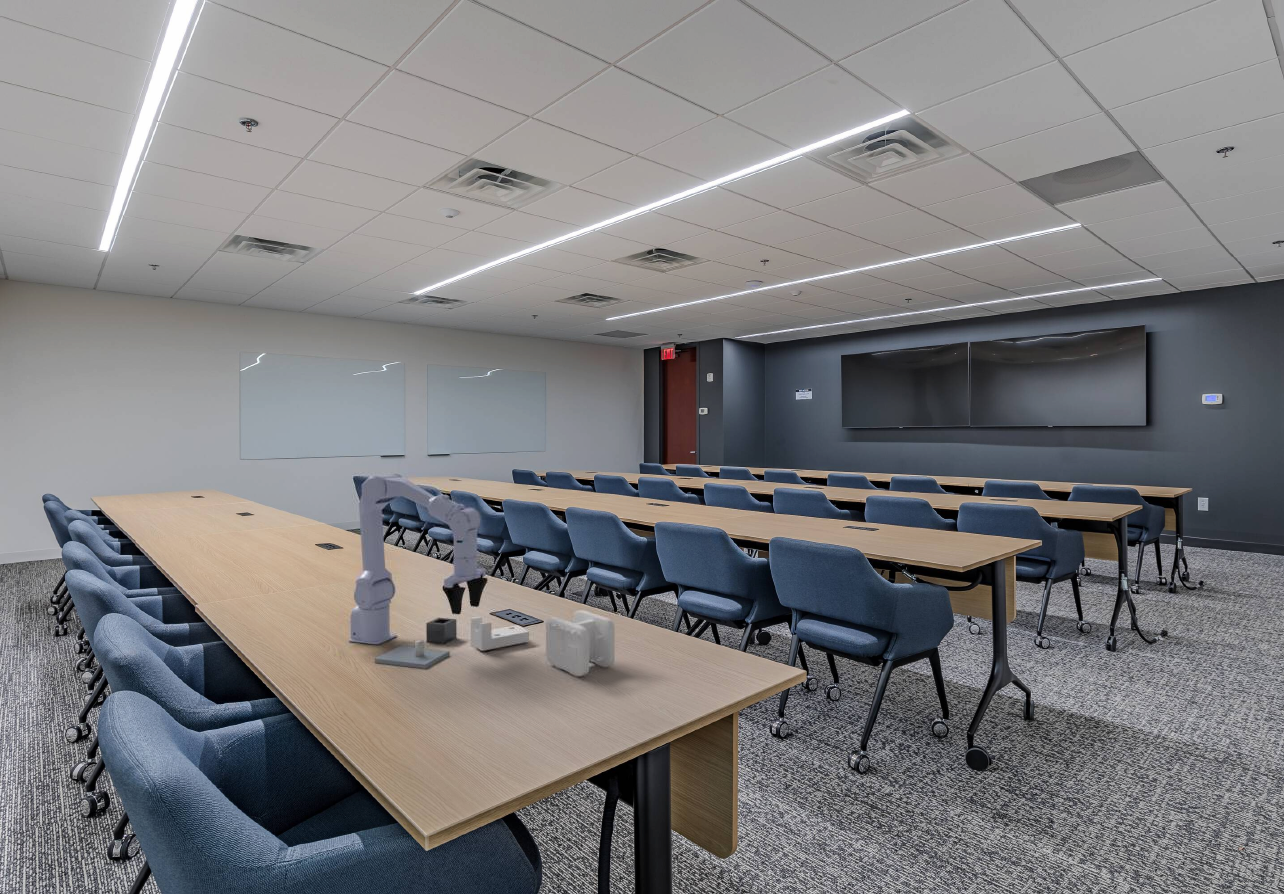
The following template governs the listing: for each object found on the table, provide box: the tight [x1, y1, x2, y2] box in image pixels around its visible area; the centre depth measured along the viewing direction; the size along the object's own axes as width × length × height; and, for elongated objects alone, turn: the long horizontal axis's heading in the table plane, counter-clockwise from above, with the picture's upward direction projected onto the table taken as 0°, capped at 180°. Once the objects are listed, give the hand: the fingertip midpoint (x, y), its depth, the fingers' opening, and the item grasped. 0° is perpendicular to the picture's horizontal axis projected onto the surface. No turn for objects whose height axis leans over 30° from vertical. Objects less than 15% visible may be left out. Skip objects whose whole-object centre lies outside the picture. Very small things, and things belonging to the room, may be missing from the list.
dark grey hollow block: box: [425, 617, 458, 645], centre depth 179 cm, size 6×6×5 cm
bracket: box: [470, 616, 530, 651], centre depth 175 cm, size 13×7×8 cm, turn 126°
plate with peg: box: [374, 639, 450, 670], centre depth 164 cm, size 14×10×4 cm
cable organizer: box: [545, 609, 616, 677], centre depth 158 cm, size 15×11×12 cm
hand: (465, 609), depth 171 cm, fingers open, 7 cm apart
